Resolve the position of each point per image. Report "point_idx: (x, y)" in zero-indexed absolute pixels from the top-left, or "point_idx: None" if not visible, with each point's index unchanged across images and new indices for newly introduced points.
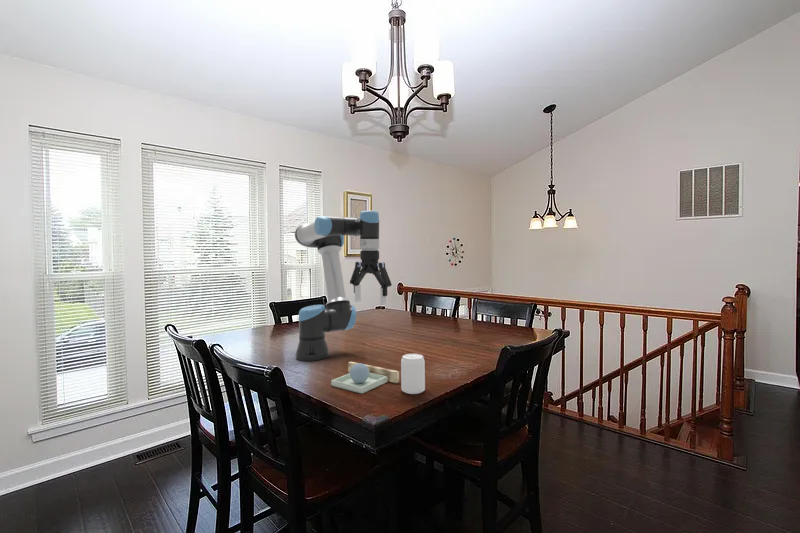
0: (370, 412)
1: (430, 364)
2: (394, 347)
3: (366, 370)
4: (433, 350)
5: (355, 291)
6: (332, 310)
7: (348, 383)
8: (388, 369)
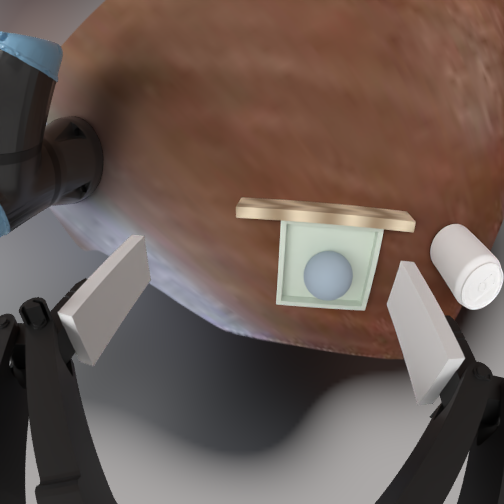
0: None
1: (408, 36)
2: None
3: (351, 281)
4: None
5: (110, 330)
6: None
7: None
8: (384, 220)
